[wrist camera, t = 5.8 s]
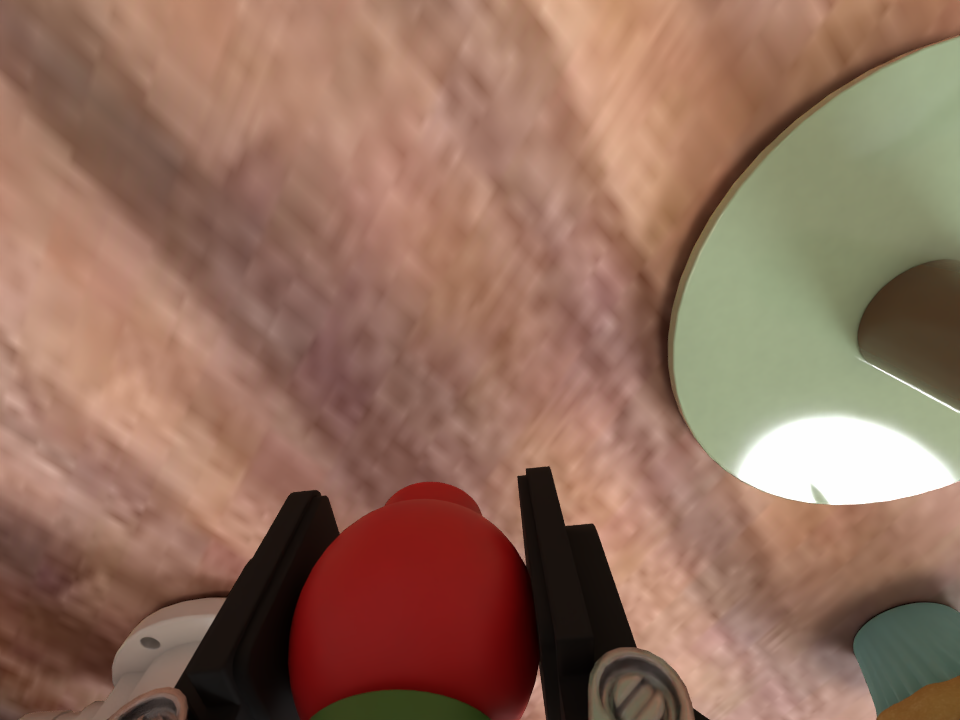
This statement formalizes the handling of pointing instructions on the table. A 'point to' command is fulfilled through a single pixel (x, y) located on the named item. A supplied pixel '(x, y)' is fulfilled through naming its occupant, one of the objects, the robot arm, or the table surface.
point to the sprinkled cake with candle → (912, 662)
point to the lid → (835, 297)
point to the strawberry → (416, 617)
